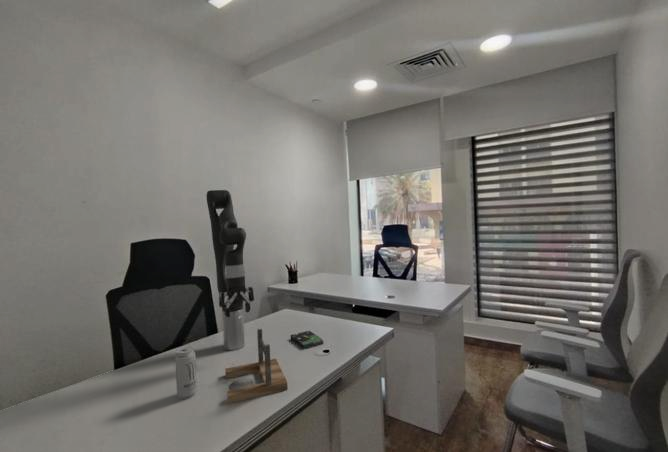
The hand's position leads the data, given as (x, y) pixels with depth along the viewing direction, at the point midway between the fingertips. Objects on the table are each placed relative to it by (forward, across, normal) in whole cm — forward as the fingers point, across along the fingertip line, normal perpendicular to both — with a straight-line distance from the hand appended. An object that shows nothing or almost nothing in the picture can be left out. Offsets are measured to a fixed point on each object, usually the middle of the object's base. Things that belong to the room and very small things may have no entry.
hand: (238, 314), depth 129 cm
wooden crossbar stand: (+20, +5, +21) cm, 29 cm away
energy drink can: (+20, +25, +12) cm, 34 cm away
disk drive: (+20, -30, +5) cm, 37 cm away
